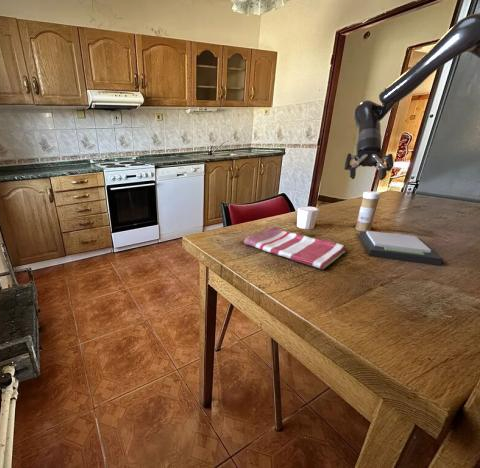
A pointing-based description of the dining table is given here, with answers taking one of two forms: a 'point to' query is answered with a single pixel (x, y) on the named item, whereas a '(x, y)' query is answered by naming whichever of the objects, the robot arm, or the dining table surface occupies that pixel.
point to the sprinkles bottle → (367, 211)
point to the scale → (399, 247)
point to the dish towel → (297, 247)
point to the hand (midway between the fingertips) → (367, 178)
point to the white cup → (307, 217)
